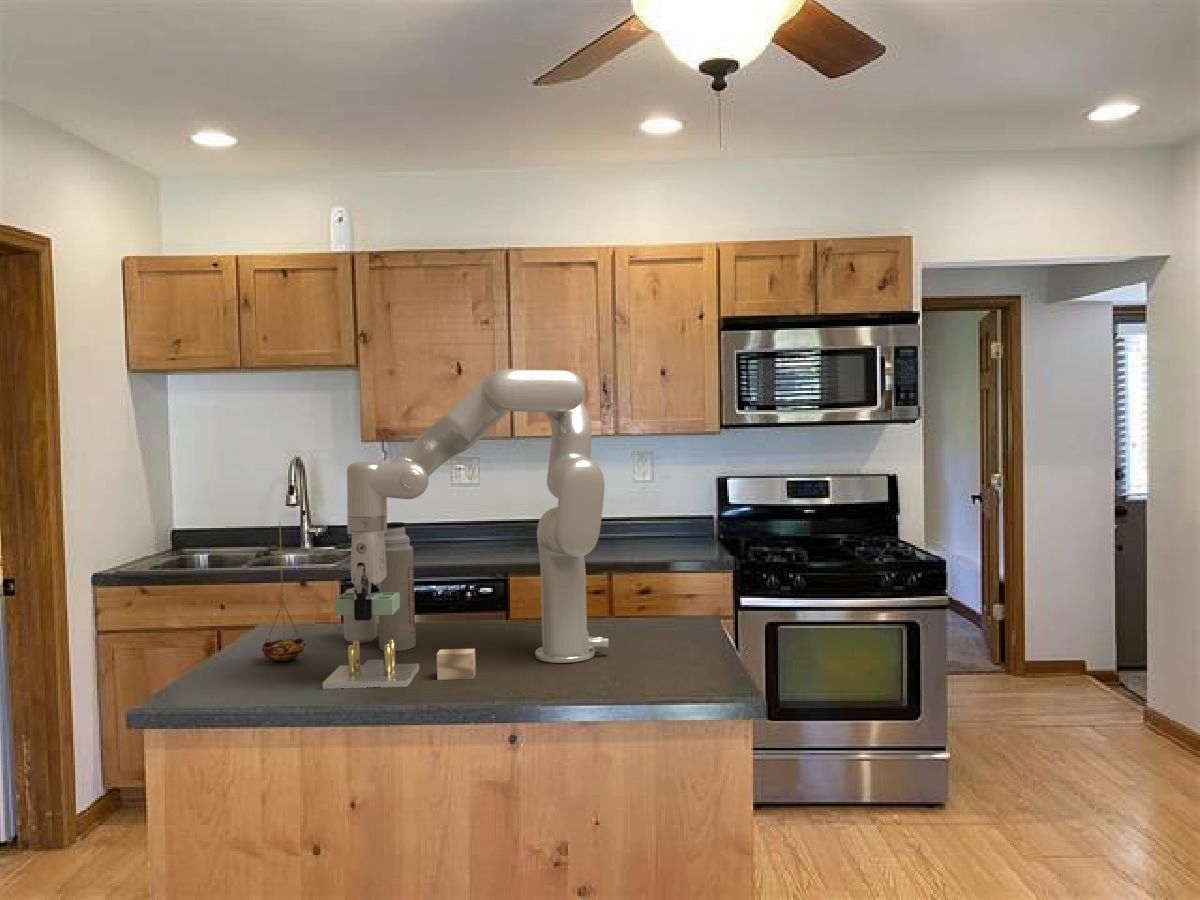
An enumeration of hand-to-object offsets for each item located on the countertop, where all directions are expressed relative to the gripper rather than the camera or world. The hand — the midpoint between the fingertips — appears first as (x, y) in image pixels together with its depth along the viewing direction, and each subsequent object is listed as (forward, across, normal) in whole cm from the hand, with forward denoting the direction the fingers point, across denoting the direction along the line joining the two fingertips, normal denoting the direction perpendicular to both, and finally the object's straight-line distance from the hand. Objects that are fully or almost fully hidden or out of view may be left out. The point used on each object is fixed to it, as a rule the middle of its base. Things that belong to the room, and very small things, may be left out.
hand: (368, 615), depth 175 cm
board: (-1, 0, 0) cm, 1 cm away
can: (+13, +33, +10) cm, 37 cm away
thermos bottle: (+13, +26, 0) cm, 29 cm away
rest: (+12, 0, -17) cm, 21 cm away
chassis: (+13, 0, -1) cm, 13 cm away
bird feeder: (+13, +16, +22) cm, 30 cm away
